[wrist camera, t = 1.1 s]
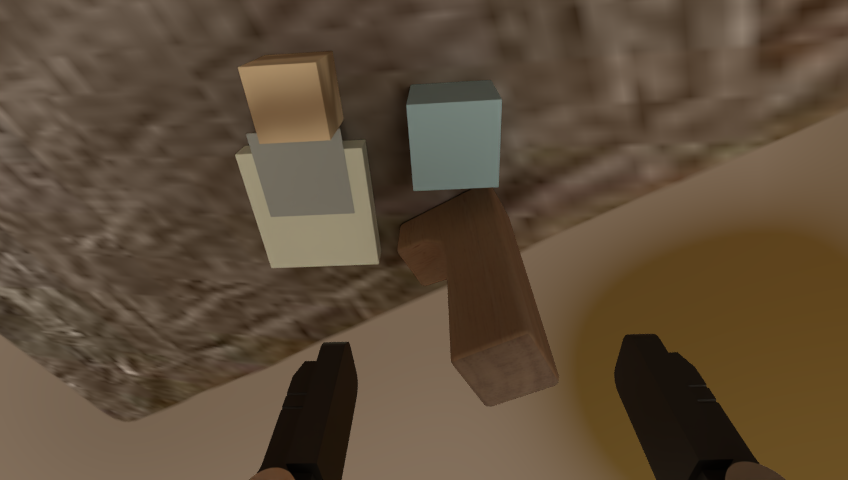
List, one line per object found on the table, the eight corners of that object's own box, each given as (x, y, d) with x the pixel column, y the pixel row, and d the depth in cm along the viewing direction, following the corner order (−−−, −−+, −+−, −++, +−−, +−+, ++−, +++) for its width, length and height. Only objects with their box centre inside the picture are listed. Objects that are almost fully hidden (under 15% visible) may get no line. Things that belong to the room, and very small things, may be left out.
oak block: (265, 54, 30) (237, 67, 26) (332, 50, 30) (315, 62, 26) (282, 122, 33) (259, 144, 29) (343, 119, 32) (330, 140, 28)
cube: (410, 84, 31) (406, 104, 26) (490, 79, 31) (501, 99, 26) (416, 159, 34) (413, 191, 29) (488, 156, 34) (498, 187, 29)
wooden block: (423, 259, 39) (417, 434, 24) (398, 223, 37) (374, 390, 22) (510, 218, 37) (563, 386, 22) (488, 178, 35) (530, 332, 20)
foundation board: (239, 126, 33) (228, 134, 31) (362, 119, 32) (358, 127, 31) (278, 255, 40) (271, 268, 38) (381, 251, 39) (378, 264, 37)
